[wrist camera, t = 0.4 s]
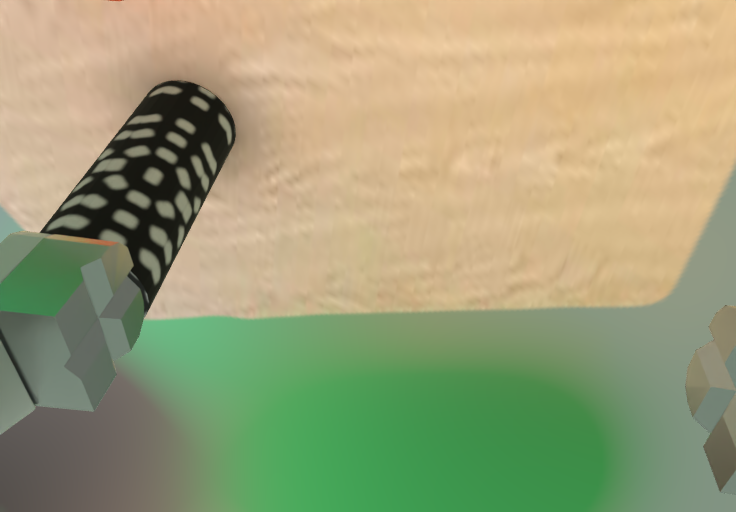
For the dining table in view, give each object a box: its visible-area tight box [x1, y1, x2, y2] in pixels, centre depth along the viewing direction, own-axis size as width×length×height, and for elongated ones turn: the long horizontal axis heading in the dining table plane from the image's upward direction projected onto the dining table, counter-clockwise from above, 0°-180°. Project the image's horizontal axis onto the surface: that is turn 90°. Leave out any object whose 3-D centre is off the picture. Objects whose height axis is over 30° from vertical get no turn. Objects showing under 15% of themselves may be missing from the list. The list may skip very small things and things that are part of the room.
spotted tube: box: [40, 81, 236, 317], centre depth 46 cm, size 8×8×20 cm
